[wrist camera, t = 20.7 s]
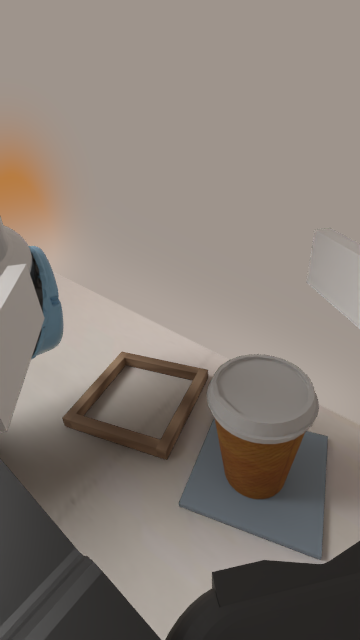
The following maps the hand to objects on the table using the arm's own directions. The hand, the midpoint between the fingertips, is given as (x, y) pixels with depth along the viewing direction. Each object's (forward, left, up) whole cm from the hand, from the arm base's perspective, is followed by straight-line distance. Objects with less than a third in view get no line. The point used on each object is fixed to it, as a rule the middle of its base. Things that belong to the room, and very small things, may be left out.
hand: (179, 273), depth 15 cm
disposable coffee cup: (+9, -3, -26) cm, 28 cm away
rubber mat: (+10, -3, -26) cm, 28 cm away
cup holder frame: (+15, +14, -26) cm, 33 cm away
